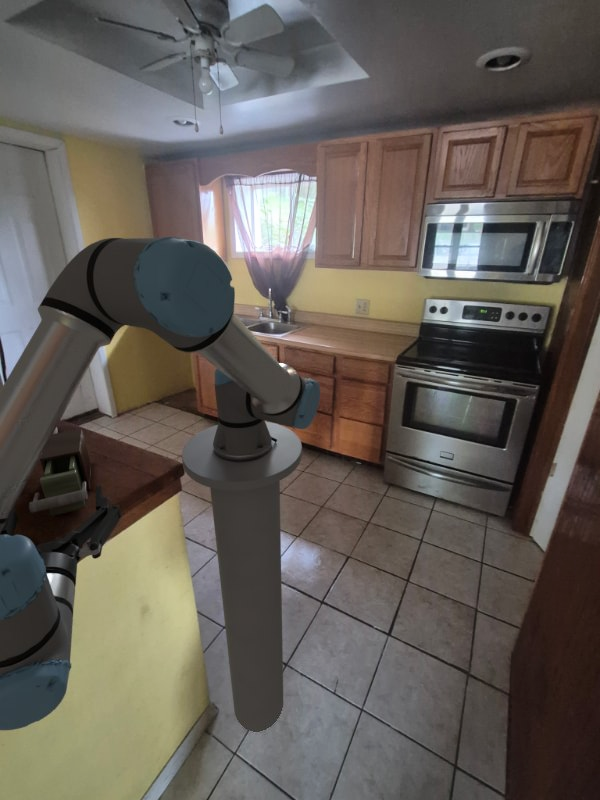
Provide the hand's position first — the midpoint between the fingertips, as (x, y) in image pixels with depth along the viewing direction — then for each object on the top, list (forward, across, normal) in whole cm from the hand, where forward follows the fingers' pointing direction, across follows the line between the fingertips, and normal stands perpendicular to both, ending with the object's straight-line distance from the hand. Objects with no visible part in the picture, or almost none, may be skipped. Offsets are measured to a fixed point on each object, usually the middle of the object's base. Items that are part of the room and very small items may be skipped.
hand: (58, 501), depth 68 cm
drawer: (+8, 0, -6) cm, 10 cm away
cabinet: (+18, 0, -7) cm, 19 cm away
